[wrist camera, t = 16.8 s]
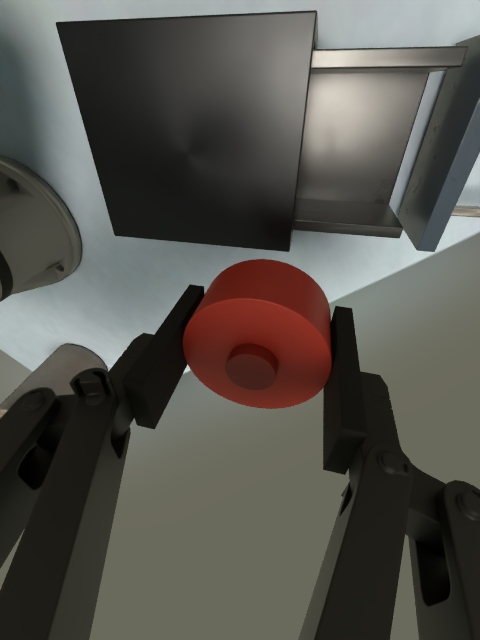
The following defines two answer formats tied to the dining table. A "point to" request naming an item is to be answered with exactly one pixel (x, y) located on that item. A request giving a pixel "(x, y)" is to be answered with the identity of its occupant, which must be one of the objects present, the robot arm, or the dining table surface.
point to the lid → (261, 335)
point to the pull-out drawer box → (387, 141)
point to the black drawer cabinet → (196, 122)
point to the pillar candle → (56, 373)
